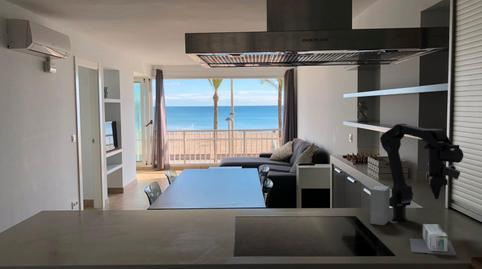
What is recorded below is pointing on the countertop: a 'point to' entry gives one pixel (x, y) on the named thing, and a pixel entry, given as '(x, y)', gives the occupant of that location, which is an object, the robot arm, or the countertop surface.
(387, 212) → the skincare box
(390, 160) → the robot arm
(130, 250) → the countertop surface
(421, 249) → the light grey square plate
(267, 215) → the countertop surface
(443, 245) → the syrup box
